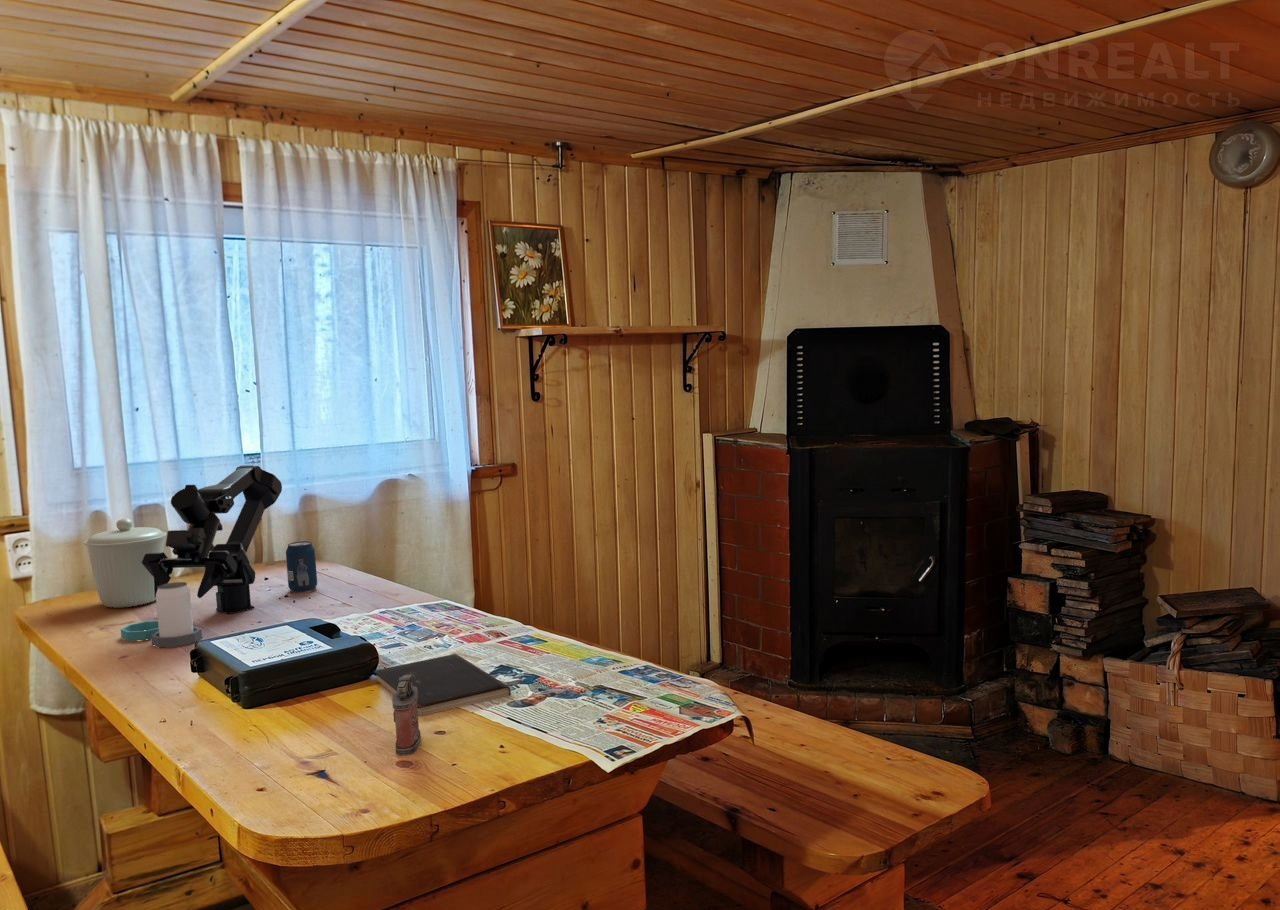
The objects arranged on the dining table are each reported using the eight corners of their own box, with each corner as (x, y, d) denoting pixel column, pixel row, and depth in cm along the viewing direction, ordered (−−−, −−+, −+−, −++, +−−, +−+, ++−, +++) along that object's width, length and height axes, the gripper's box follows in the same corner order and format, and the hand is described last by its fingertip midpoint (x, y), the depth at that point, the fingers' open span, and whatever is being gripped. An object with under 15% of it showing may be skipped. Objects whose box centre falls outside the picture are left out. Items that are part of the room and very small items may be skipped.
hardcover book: (418, 720, 157) (417, 706, 156) (374, 683, 176) (373, 670, 176) (511, 698, 165) (510, 685, 165) (459, 665, 185) (458, 653, 184)
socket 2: (189, 633, 213) (188, 624, 213) (207, 639, 207) (206, 630, 207) (147, 642, 207) (146, 633, 207) (164, 650, 201) (163, 640, 201)
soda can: (306, 585, 255) (303, 539, 254) (323, 588, 251) (319, 542, 250) (283, 591, 250) (279, 544, 248) (299, 594, 246) (296, 547, 244)
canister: (178, 603, 242) (170, 518, 239) (94, 616, 232) (85, 527, 229) (165, 590, 256) (158, 510, 254) (86, 602, 246) (78, 519, 244)
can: (180, 646, 203) (175, 588, 202) (153, 645, 205) (147, 588, 203) (200, 637, 210) (195, 581, 208) (173, 636, 211) (168, 581, 210)
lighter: (401, 735, 149) (396, 670, 148) (423, 733, 149) (419, 668, 148) (392, 756, 141) (387, 688, 140) (416, 754, 141) (411, 686, 140)
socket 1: (159, 627, 219) (158, 618, 219) (175, 633, 213) (174, 624, 213) (116, 636, 213) (116, 627, 213) (132, 643, 207) (132, 634, 207)
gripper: (142, 516, 212) (116, 577, 202) (226, 513, 211) (204, 575, 201) (165, 545, 221) (141, 606, 211) (246, 543, 219) (226, 604, 209)
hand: (177, 597), depth 208 cm, fingers open, 9 cm apart
